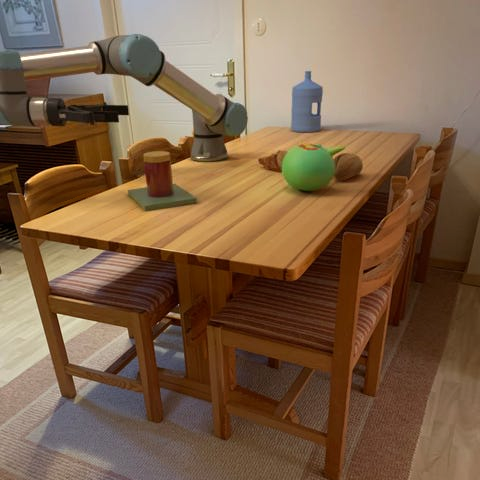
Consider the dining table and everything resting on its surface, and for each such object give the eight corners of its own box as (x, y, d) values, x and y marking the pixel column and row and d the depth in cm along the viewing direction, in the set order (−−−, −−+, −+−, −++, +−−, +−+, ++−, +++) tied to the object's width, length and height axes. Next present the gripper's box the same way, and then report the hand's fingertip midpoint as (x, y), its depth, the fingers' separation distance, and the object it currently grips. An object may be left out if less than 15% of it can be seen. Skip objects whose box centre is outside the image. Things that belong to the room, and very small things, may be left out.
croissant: (312, 179, 180) (317, 157, 180) (305, 171, 171) (310, 149, 171) (261, 173, 189) (265, 152, 188) (251, 165, 180) (255, 144, 179)
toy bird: (272, 186, 161) (273, 139, 153) (316, 180, 166) (319, 134, 159) (299, 199, 146) (301, 149, 139) (346, 192, 152) (350, 143, 144)
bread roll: (324, 181, 165) (325, 156, 161) (340, 171, 176) (341, 148, 172) (351, 184, 161) (353, 159, 157) (365, 174, 172) (368, 151, 168)
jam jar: (144, 192, 152) (140, 154, 146) (169, 189, 155) (165, 152, 149) (151, 198, 146) (147, 159, 140) (177, 195, 148) (173, 156, 143)
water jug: (289, 132, 252) (291, 72, 238) (292, 128, 265) (293, 70, 251) (320, 132, 250) (323, 71, 236) (320, 128, 263) (324, 70, 249)
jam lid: (141, 159, 147) (140, 152, 146) (165, 156, 149) (165, 150, 149) (148, 163, 141) (147, 157, 140) (173, 160, 143) (173, 154, 142)
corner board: (128, 194, 156) (127, 189, 155) (175, 187, 162) (174, 183, 161) (145, 211, 140) (144, 205, 139) (197, 202, 146) (196, 198, 145)
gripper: (65, 119, 152) (133, 120, 152) (36, 133, 131) (115, 135, 131) (61, 93, 148) (130, 94, 149) (30, 103, 127) (111, 104, 127)
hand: (123, 113), depth 140 cm, fingers open, 13 cm apart
